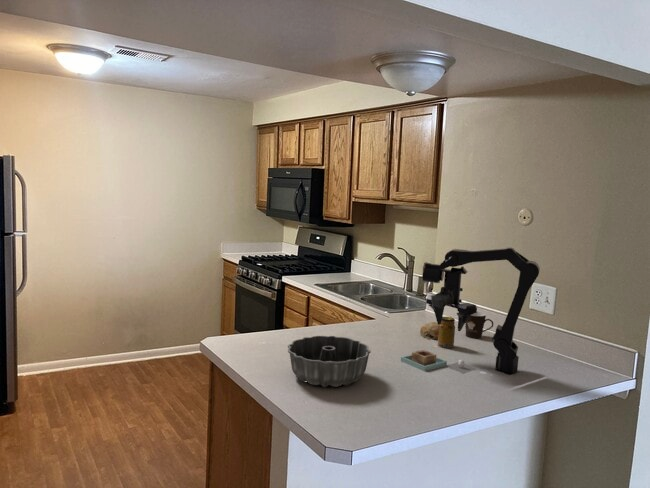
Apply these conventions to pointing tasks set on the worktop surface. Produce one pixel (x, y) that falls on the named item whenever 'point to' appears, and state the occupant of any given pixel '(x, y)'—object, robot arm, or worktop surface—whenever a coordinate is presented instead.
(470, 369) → the gray plate with knob
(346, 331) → the worktop surface
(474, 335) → the coffee mug
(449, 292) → the robot arm
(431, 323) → the bread roll
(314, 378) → the bundt pan
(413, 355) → the ring
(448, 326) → the condiment
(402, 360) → the tray
